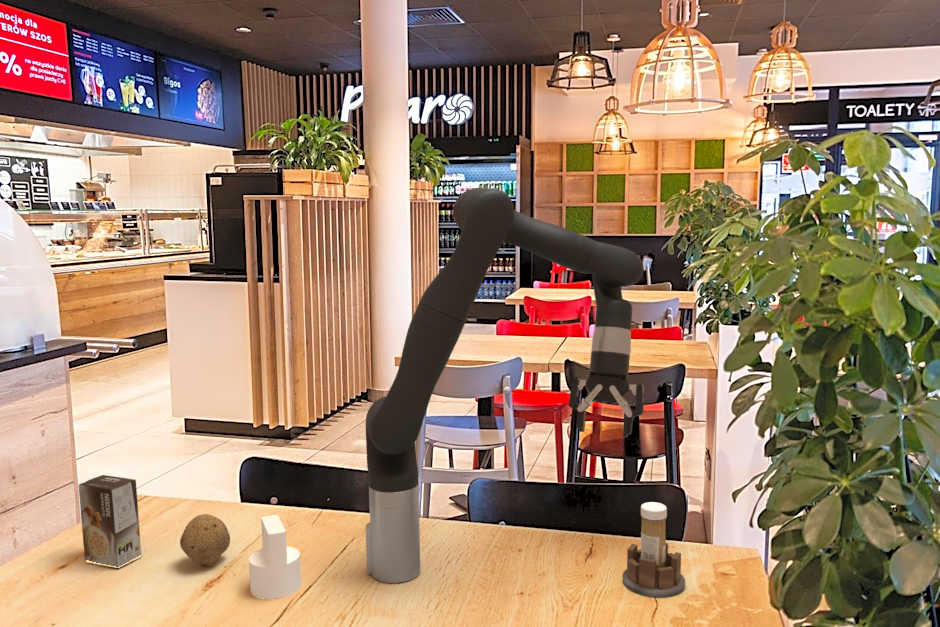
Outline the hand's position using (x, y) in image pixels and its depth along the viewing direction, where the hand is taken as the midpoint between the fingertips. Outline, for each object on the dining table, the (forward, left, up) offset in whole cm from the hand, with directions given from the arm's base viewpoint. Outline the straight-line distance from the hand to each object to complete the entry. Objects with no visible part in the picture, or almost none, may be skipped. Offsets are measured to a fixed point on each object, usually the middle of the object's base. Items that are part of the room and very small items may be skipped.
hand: (603, 434), depth 152 cm
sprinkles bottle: (+12, -8, -23) cm, 28 cm away
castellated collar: (+13, -8, -24) cm, 28 cm away
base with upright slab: (-47, -41, -24) cm, 67 cm away
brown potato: (-66, -40, -24) cm, 81 cm away
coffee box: (-84, -47, -24) cm, 100 cm away
